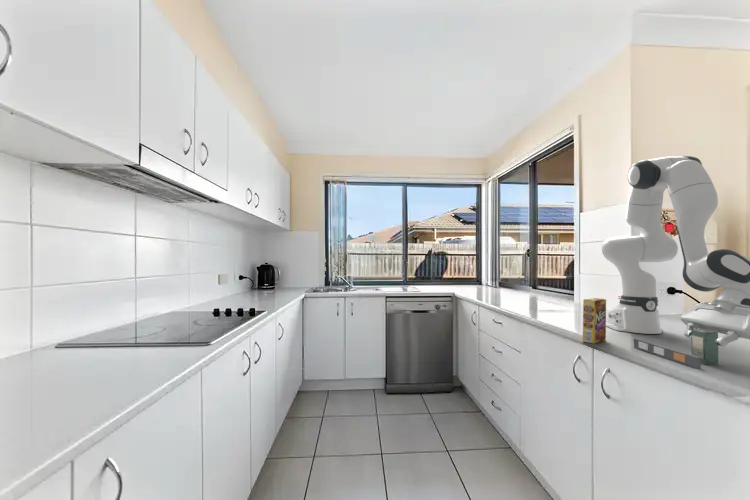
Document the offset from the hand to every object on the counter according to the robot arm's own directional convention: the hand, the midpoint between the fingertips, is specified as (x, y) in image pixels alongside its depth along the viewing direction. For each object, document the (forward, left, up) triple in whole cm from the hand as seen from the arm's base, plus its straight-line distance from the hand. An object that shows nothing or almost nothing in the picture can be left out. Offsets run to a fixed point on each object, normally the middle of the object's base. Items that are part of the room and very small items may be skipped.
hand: (702, 340), depth 102 cm
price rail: (-6, -6, -6) cm, 11 cm away
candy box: (-26, -14, -7) cm, 30 cm away
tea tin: (0, +1, -6) cm, 6 cm away
